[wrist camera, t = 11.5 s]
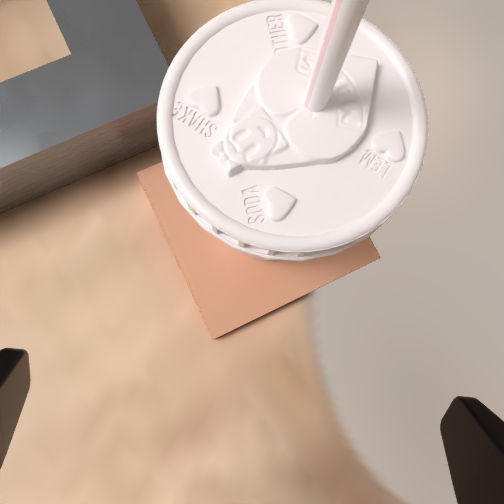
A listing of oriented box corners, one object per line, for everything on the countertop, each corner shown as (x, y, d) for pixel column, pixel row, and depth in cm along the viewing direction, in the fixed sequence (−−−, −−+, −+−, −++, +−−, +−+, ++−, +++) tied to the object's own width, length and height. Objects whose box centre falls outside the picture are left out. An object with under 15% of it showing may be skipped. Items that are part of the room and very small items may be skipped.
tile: (377, 259, 20) (380, 257, 20) (213, 339, 19) (213, 339, 19) (296, 107, 21) (297, 102, 21) (138, 176, 21) (136, 172, 20)
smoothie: (367, 238, 20) (665, 32, 6) (245, 322, 19) (276, 299, 5) (283, 124, 21) (381, -290, 7) (163, 199, 20) (4, -99, 6)
